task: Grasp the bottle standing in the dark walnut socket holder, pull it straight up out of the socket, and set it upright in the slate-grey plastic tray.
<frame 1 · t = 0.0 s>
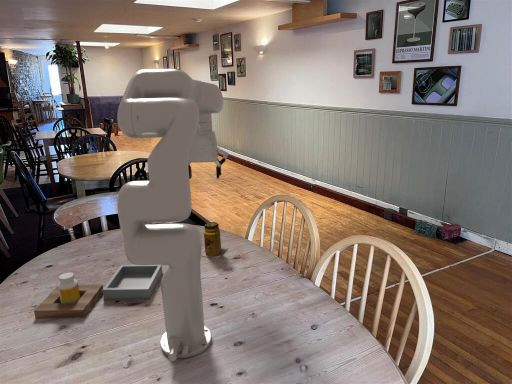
hand: (204, 177, 133), 31 cm above the table, tool pointing down, fingers open, 9 cm apart
supplement bottle: (71, 304, 117), resting in socket holder
tray: (135, 286, 126), on the table
condiment: (214, 253, 149), on the table
socket holder: (71, 304, 117), on the table
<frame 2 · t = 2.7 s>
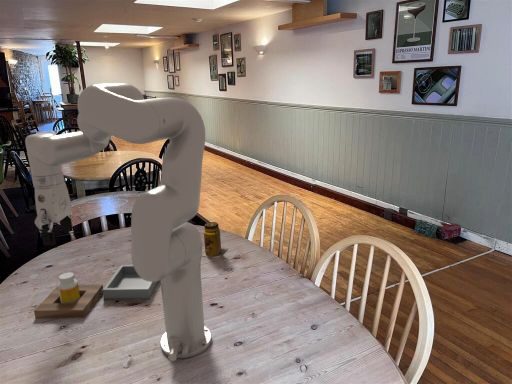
hand: (58, 237, 111), 21 cm above the table, tool pointing down, fingers open, 9 cm apart
nothing on the table moved.
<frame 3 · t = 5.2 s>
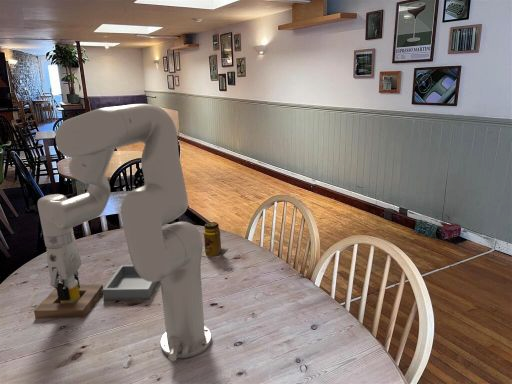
hand: (69, 293, 116), 4 cm above the table, tool pointing down, fingers closed on supplement bottle, 5 cm apart
supplement bottle: (71, 304, 117), resting in socket holder, touching gripper
everything else where it was.
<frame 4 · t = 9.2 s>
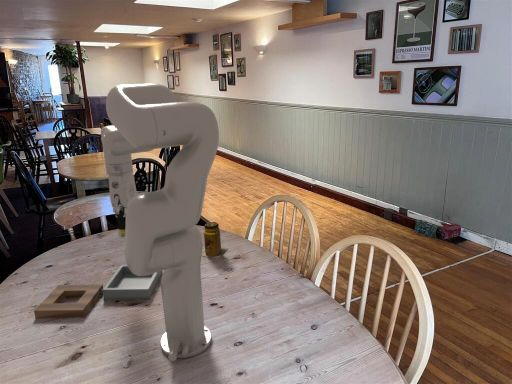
hand: (126, 224, 120), 21 cm above the table, tool pointing down, fingers closed on supplement bottle, 5 cm apart
supplement bottle: (128, 236, 121), point 17 cm above the table, touching gripper
everything else where it was.
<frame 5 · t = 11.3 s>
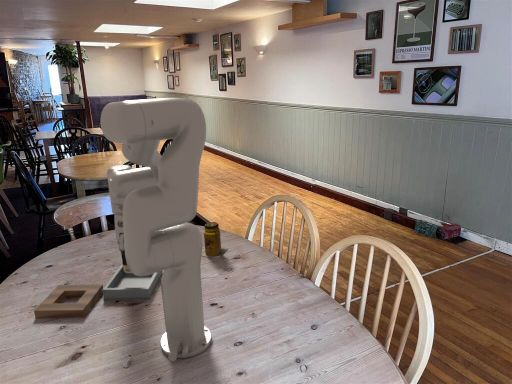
hand: (131, 259, 123), 9 cm above the table, tool pointing down, fingers closed on supplement bottle, 5 cm apart
supplement bottle: (132, 270, 125), point 6 cm above the table, touching gripper
everything else where it was.
when the fingers open (5 cm above the table, at t = 13.0 s): supplement bottle drops 1 cm, resting on tray.
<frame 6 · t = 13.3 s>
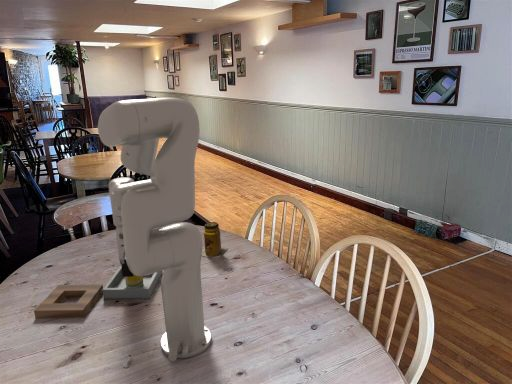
hand: (132, 269, 124), 6 cm above the table, tool pointing down, fingers open, 8 cm apart
supplement bottle: (135, 285, 126), resting on tray
everything else where it was.
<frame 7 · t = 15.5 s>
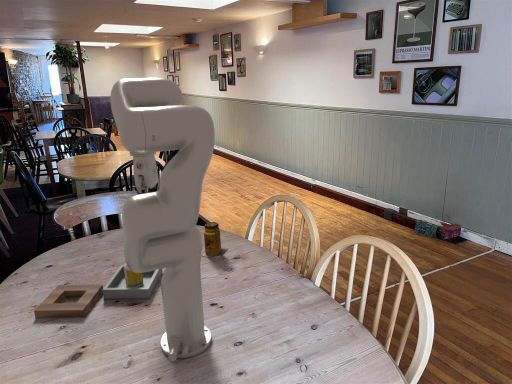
hand: (148, 204, 121), 27 cm above the table, tool pointing down, fingers open, 9 cm apart
nothing on the table moved.
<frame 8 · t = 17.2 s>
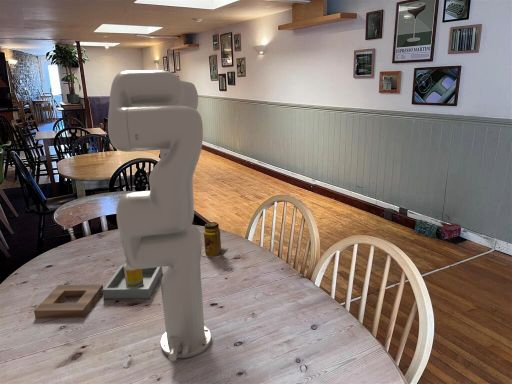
hand: (173, 183, 122), 32 cm above the table, tool pointing down, fingers open, 9 cm apart
nothing on the table moved.
at the end: supplement bottle inside the target area on the tray (0.1 cm from its centre), point 0.4 cm above the tray's base; supplement bottle tilted 0°; the gripper is holding nothing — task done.
